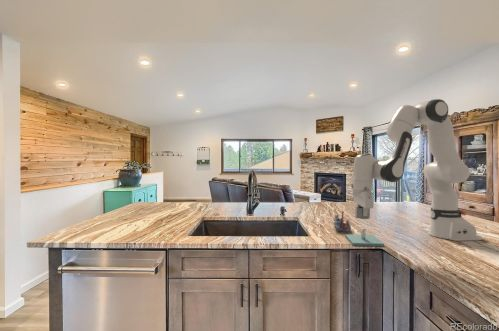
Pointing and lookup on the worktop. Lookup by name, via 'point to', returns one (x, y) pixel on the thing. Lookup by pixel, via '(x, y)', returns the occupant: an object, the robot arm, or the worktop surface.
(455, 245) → the worktop surface
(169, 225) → the worktop surface
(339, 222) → the grey red spired figurine
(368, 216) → the hub
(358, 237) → the shaft block
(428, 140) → the robot arm
